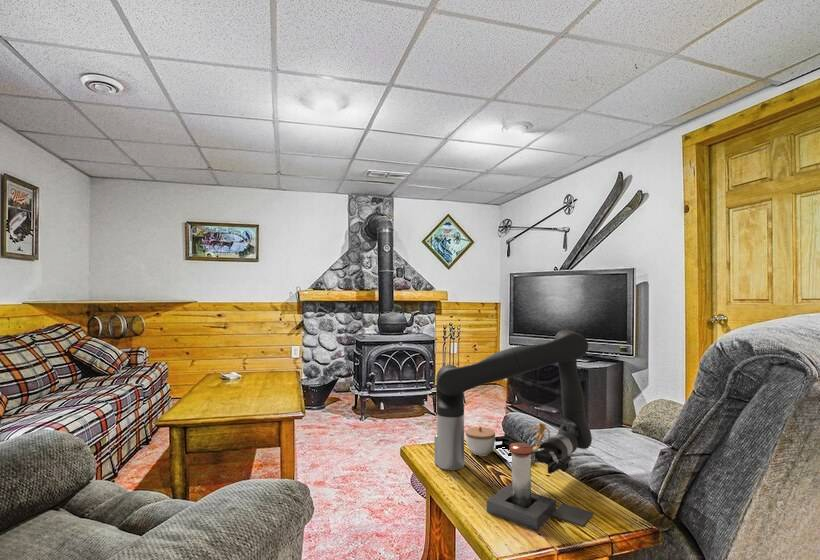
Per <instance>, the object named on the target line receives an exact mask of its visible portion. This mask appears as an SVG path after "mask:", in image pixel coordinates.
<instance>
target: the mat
mask: <svg viewBox="0 0 820 560" xmlns="http://www.w3.org/2000/svg"><path fill="white" fill-rule="evenodd" d="M593 515H594V512H592V511H589V510H585V509H584V508H580V507H576V506H574V505H570V504H569V503H568V504H567V503H564V502H563V503H561V504H560V505H559V506H558V507H556V510H555V511H554V512H553V513H552V514H551V517H554V518H557V519H559V520H562V521H565V522H568V523H570V524H572V525H573V524H574V525H576V526H578V527H581V528H583V527H584V526H585V525H586V524H587V523H588V521H589V520H590V519H591V518H592V516H593ZM585 523H586V524H585Z"/></svg>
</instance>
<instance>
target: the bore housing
mask: <svg viewBox="0 0 820 560" xmlns="http://www.w3.org/2000/svg"><path fill="white" fill-rule="evenodd" d="M556 501H557V500H556V499H553V498H550V497H547V496H545V495H541V494H538V493H535V492H532V491H531V506H530V507H529V508H528V509H526V508H523V507H520V506H518V505H515V504H512V485H510V484H507V485H506V486H504V487H503V488H502V489H500V490H499V491H498V492H496V493H495V494H493V495H492V496H490V497H489V498H488V499H487V500H486V513H489V514H491V515H492V514H493V515H494V516H497V517H501V518H502V519H505V520H507V521H510V522H513V523H516V524H518V525H520V526H523V527H526V528H529V529H531V530H534V531H538V530H539V529H540V528H541V527H542V526H543V525H544V524H545V523H546V522H547V521H548V520H549V519H550V518H551V517H552V516H551V514H552V513H553V512H554V511H555V510H556V509H557V502H556Z"/></svg>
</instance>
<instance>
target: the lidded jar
mask: <svg viewBox="0 0 820 560" xmlns="http://www.w3.org/2000/svg"><path fill="white" fill-rule="evenodd" d="M464 434H465V442H466V446H467V448H468V450H469V451H470V452H471V453H473V454H472V455H474V454H475V455H474V456H476V455H480V456H479V457H486V455H487V456H488V455H489V454H490V453H491V452H492V451H493V450H494V448H495V445H496V444H495V443H496V442H495V437H496V431H495V430H494V429H492V428H489V427H483V426H473V427H468V428H467V429H465V431H464Z"/></svg>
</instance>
